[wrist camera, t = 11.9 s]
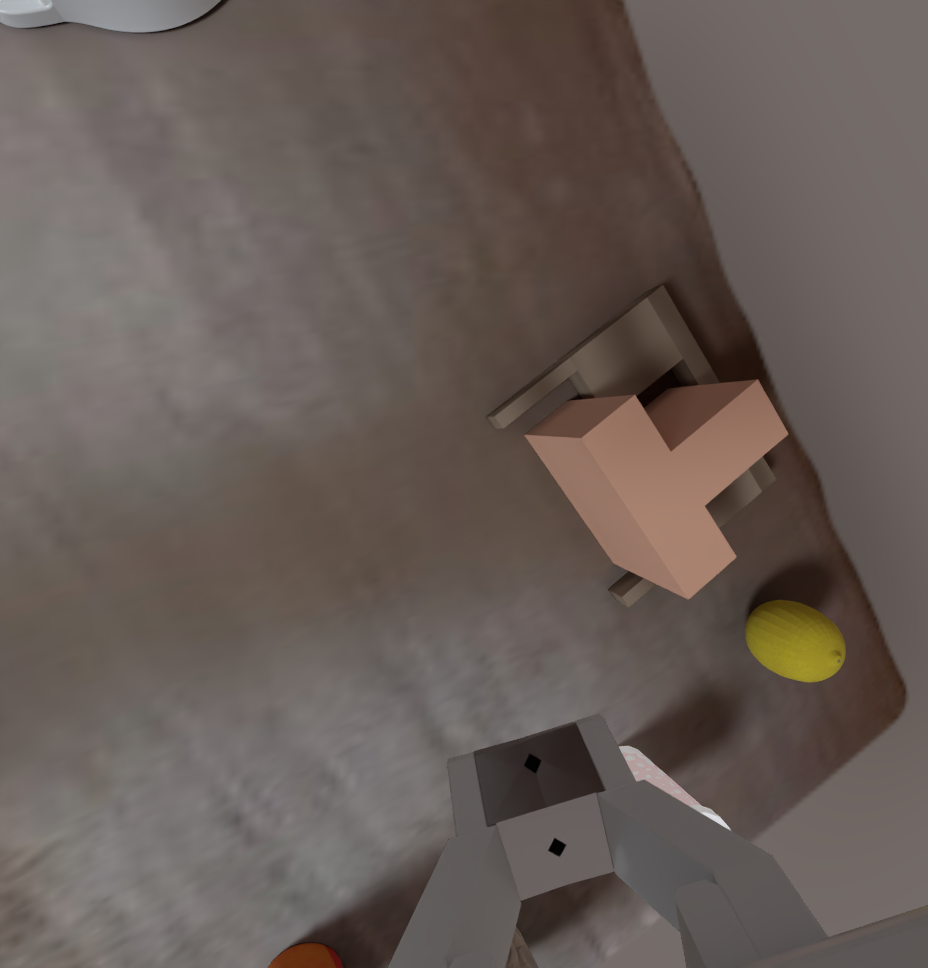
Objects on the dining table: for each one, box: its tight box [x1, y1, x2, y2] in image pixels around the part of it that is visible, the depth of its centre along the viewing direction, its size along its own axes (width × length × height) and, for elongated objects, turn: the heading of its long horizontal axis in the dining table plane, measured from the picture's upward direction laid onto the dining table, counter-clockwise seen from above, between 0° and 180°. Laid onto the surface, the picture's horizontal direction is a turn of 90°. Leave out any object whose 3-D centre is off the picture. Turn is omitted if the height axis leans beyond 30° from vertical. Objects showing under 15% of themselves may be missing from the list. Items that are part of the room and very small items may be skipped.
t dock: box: [486, 285, 776, 607], centre depth 41 cm, size 15×17×2 cm
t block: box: [525, 379, 788, 600], centre depth 38 cm, size 11×12×9 cm
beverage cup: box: [619, 746, 730, 830], centre depth 38 cm, size 6×6×14 cm
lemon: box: [745, 600, 846, 682], centre depth 42 cm, size 6×6×8 cm
